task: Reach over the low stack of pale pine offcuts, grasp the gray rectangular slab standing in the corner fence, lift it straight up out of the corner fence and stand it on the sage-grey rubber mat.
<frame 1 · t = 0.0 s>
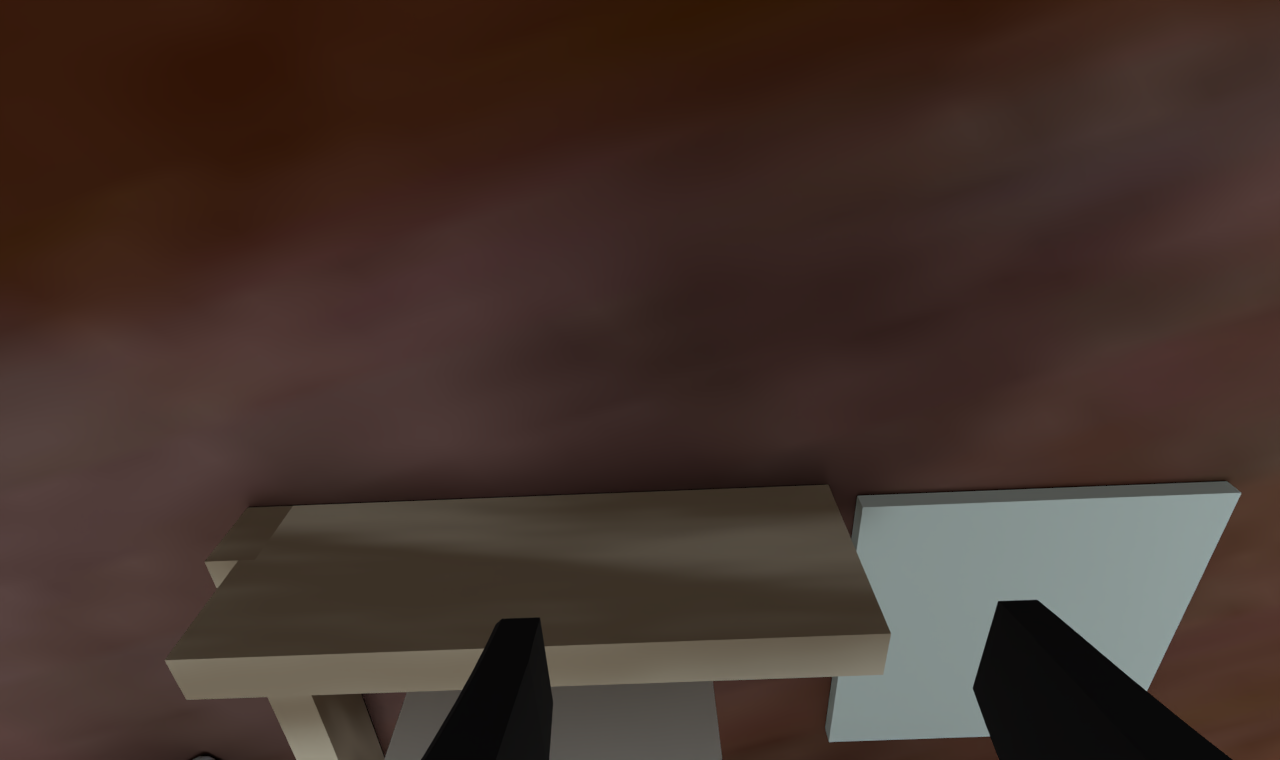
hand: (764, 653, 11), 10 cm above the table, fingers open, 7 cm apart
gray rectangular slab: (570, 633, 25), on the table
corner fence: (569, 635, 25), on the table
mat: (1002, 619, 25), on the table
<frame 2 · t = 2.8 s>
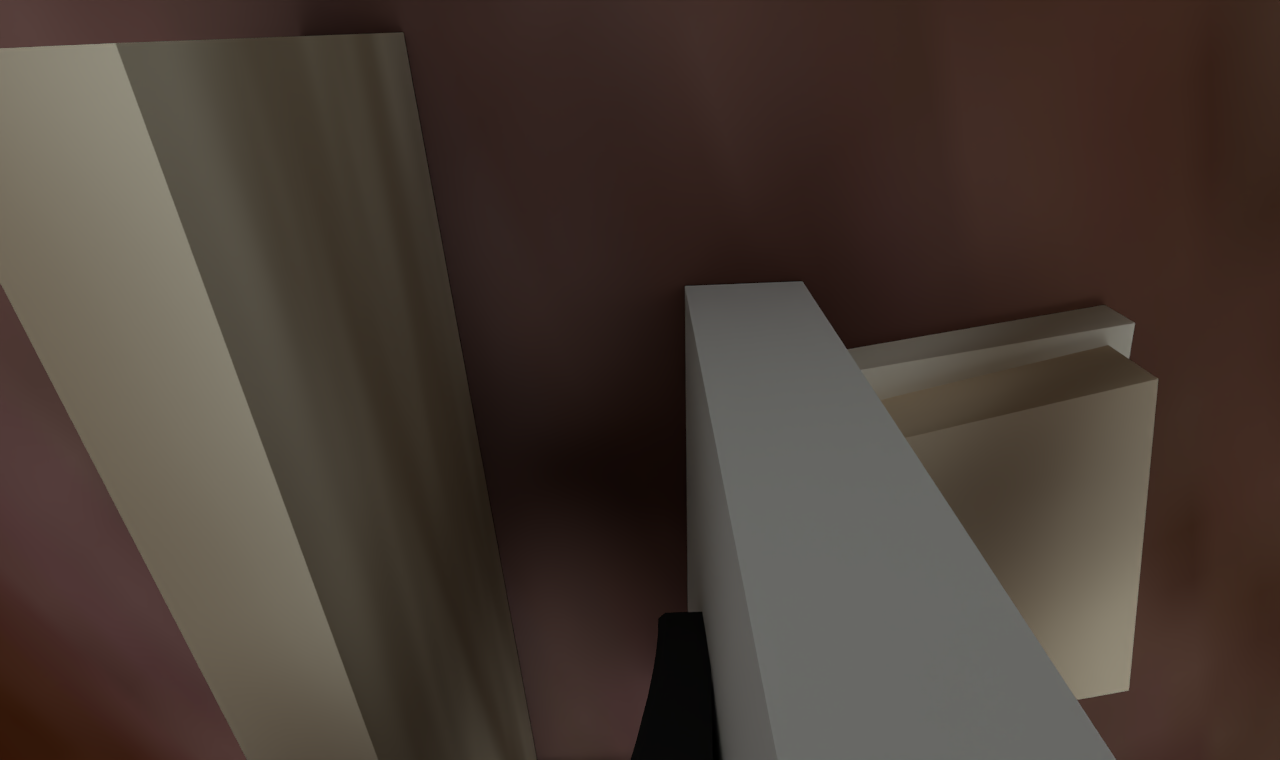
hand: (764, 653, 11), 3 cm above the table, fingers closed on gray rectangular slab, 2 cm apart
gray rectangular slab: (735, 514, 14), on the table, touching gripper
corner fence: (736, 515, 14), on the table
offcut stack: (956, 491, 14), on the table
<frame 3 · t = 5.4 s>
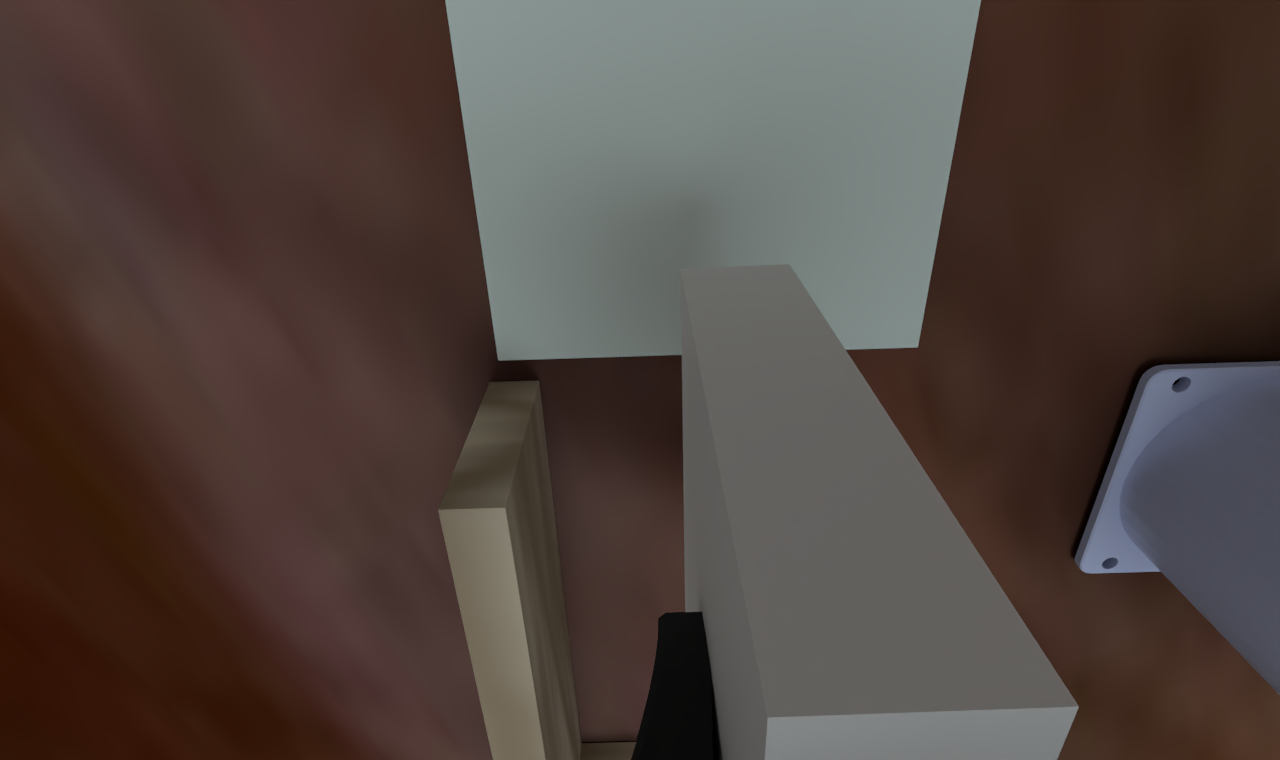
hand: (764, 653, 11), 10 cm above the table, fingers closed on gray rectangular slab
gray rectangular slab: (729, 486, 15), point 6 cm above the table, touching gripper
corner fence: (701, 593, 24), on the table
mat: (709, 129, 17), on the table
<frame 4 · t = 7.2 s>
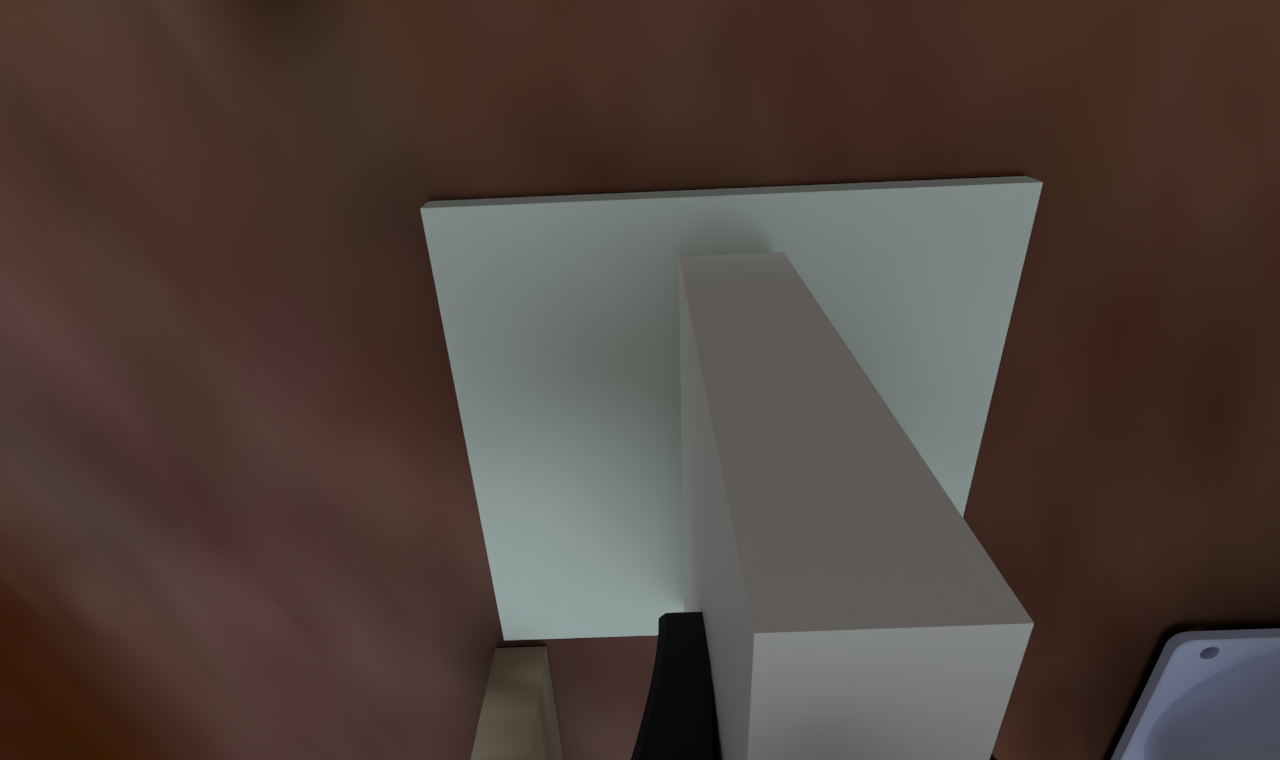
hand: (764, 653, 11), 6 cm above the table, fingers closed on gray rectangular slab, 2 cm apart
gray rectangular slab: (726, 469, 15), point 1 cm above the table, touching gripper
mat: (720, 439, 16), on the table
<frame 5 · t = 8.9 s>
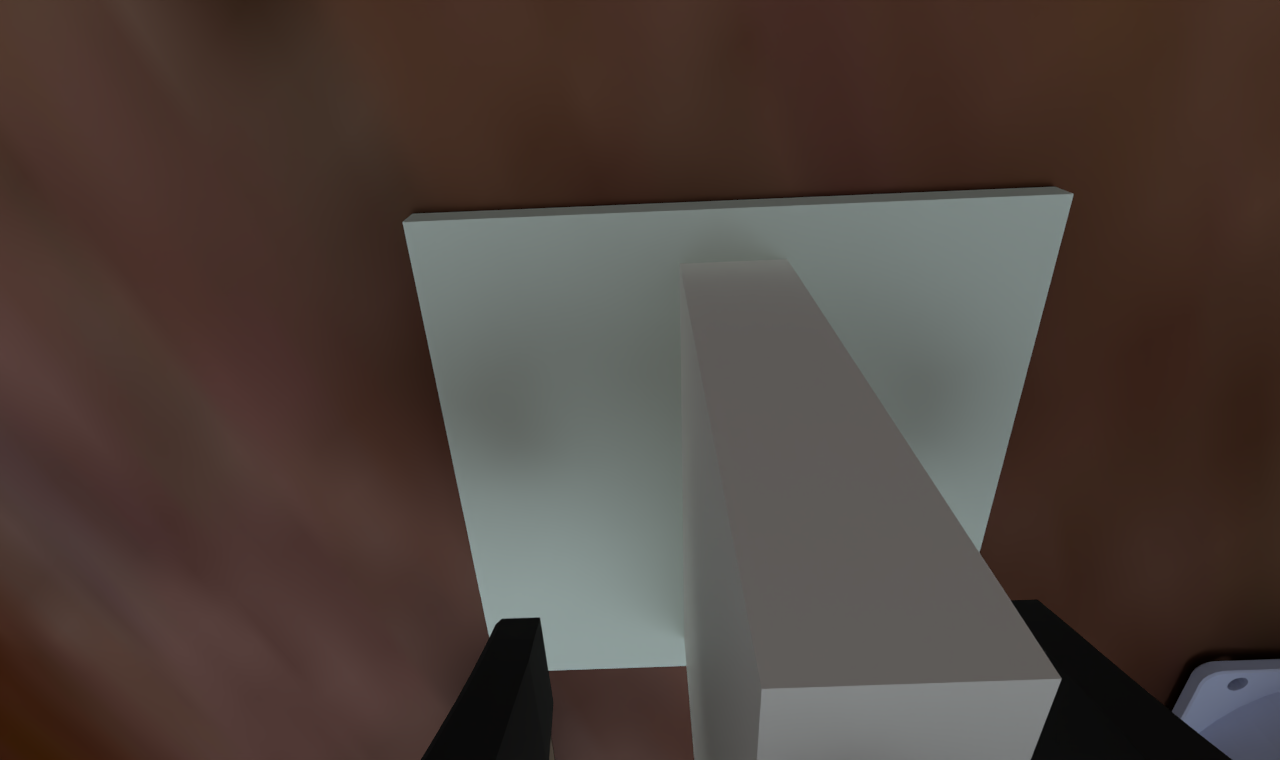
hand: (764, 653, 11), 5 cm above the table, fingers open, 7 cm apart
gray rectangular slab: (727, 479, 15), point 1 cm above the table, touching mat
mat: (725, 464, 15), on the table
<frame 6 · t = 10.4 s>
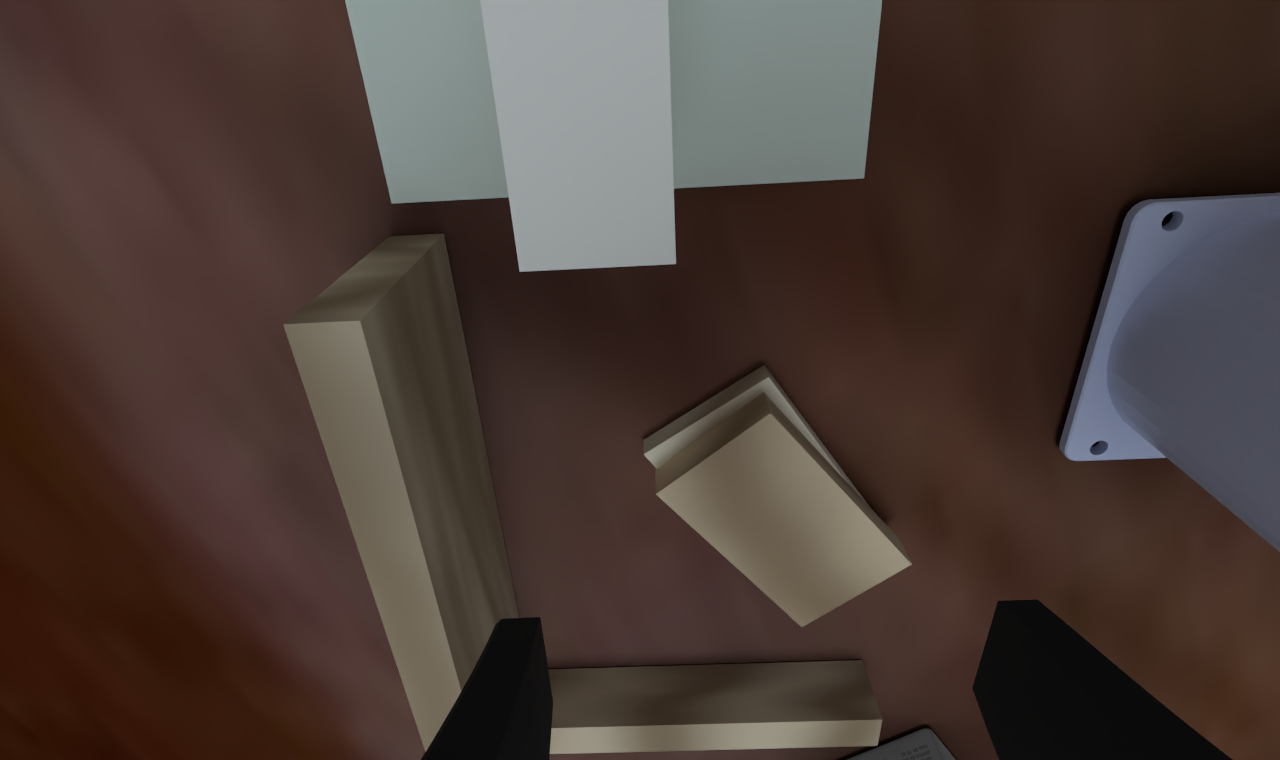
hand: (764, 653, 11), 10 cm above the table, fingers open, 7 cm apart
corner fence: (645, 492, 22), on the table
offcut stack: (768, 480, 22), on the table
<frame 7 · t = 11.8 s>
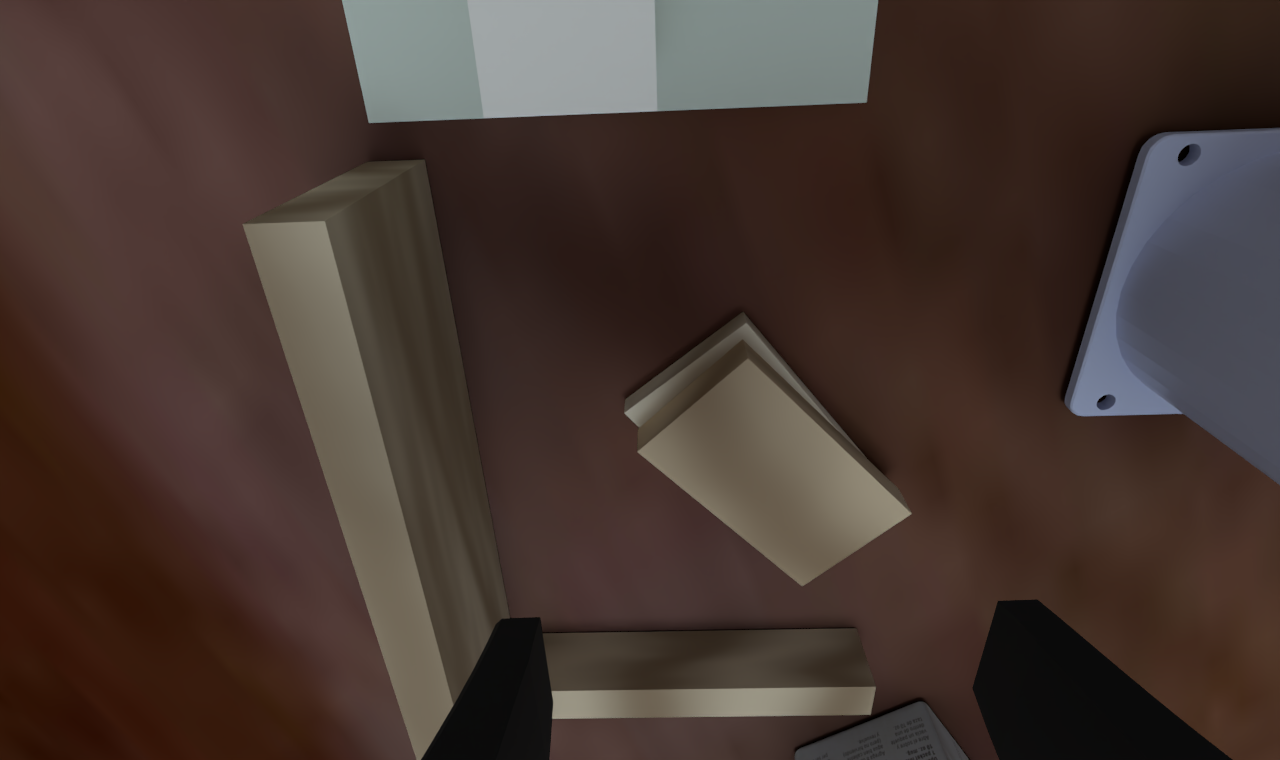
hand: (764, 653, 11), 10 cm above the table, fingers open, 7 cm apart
corner fence: (633, 445, 21), on the table
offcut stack: (759, 436, 22), on the table
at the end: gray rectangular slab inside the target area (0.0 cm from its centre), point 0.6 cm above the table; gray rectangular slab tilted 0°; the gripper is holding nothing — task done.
